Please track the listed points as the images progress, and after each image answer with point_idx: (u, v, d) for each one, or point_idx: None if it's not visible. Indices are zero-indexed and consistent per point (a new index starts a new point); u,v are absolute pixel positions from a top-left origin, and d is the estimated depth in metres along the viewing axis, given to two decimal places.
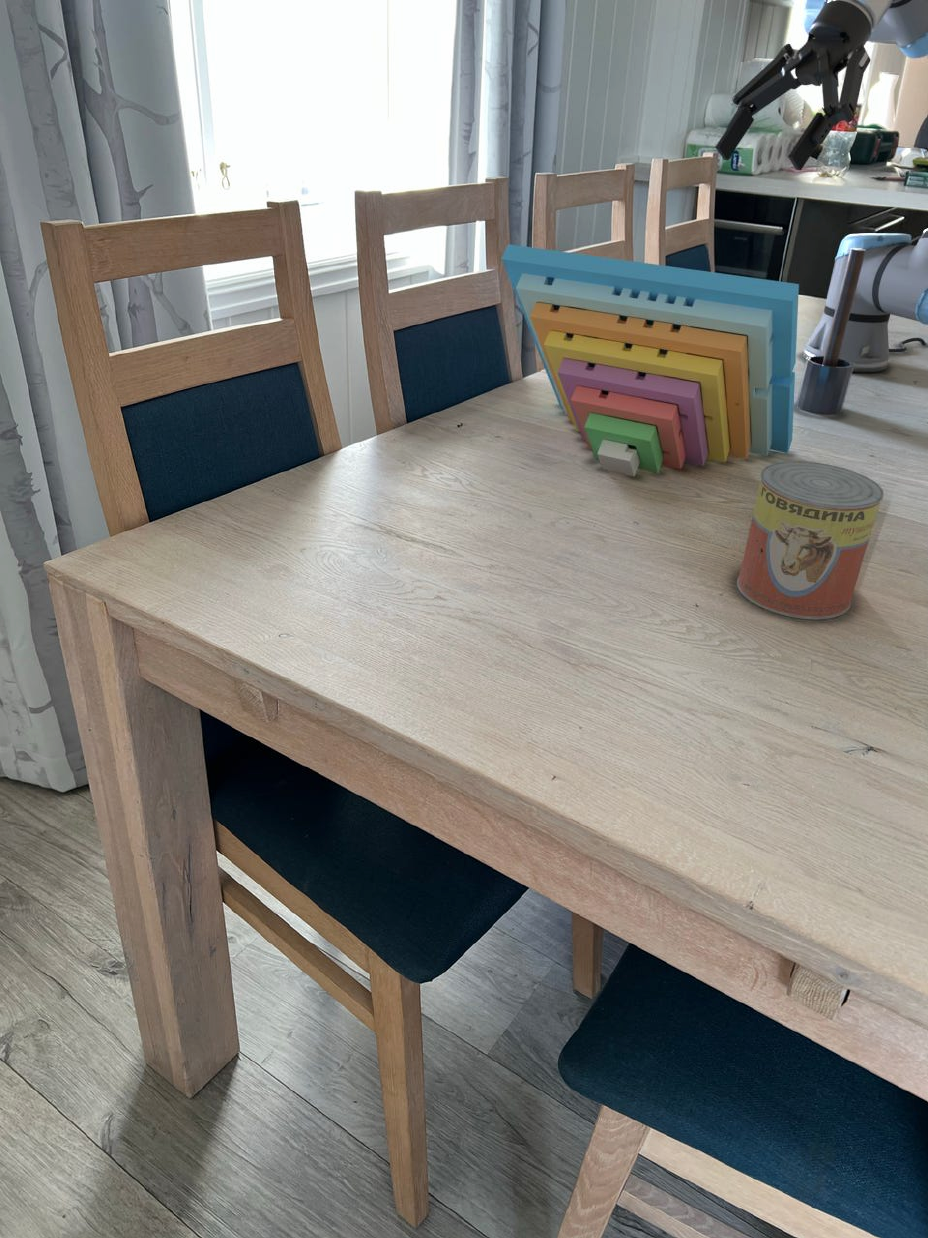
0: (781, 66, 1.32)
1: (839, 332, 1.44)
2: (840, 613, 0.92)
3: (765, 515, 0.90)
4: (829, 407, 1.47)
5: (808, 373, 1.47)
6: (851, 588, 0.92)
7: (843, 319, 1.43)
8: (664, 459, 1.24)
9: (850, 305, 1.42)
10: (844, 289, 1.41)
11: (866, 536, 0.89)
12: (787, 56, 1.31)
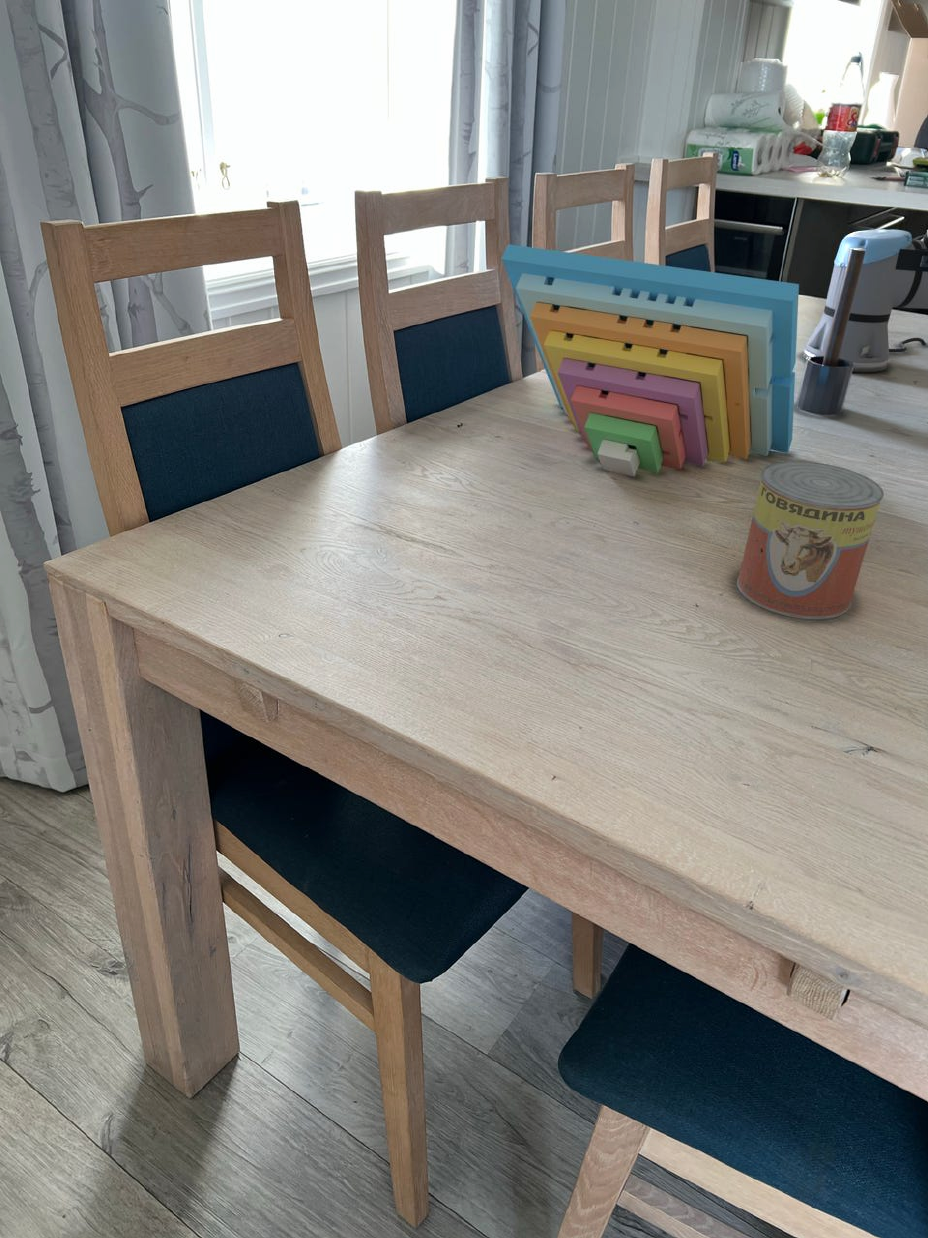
0: None
1: (839, 332, 1.44)
2: (840, 613, 0.92)
3: (765, 515, 0.90)
4: (829, 407, 1.47)
5: (808, 373, 1.47)
6: (851, 588, 0.92)
7: (843, 319, 1.43)
8: (664, 459, 1.24)
9: (850, 305, 1.42)
10: (844, 289, 1.41)
11: (866, 536, 0.89)
12: None
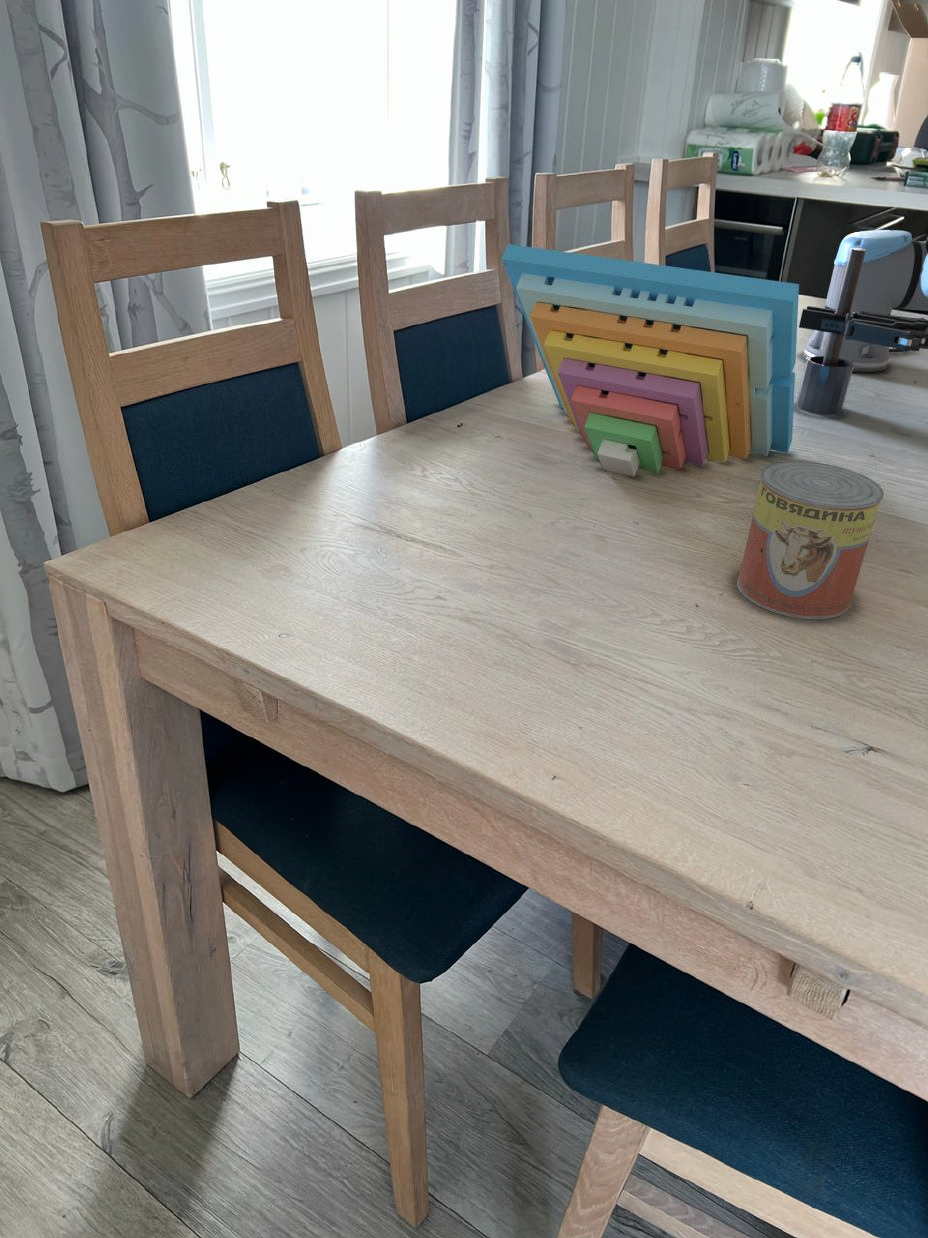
0: None
1: None
2: (840, 613, 0.92)
3: (765, 515, 0.90)
4: (829, 407, 1.47)
5: (808, 373, 1.47)
6: (851, 588, 0.92)
7: None
8: (664, 459, 1.24)
9: (850, 305, 1.42)
10: (844, 289, 1.41)
11: (866, 536, 0.89)
12: None
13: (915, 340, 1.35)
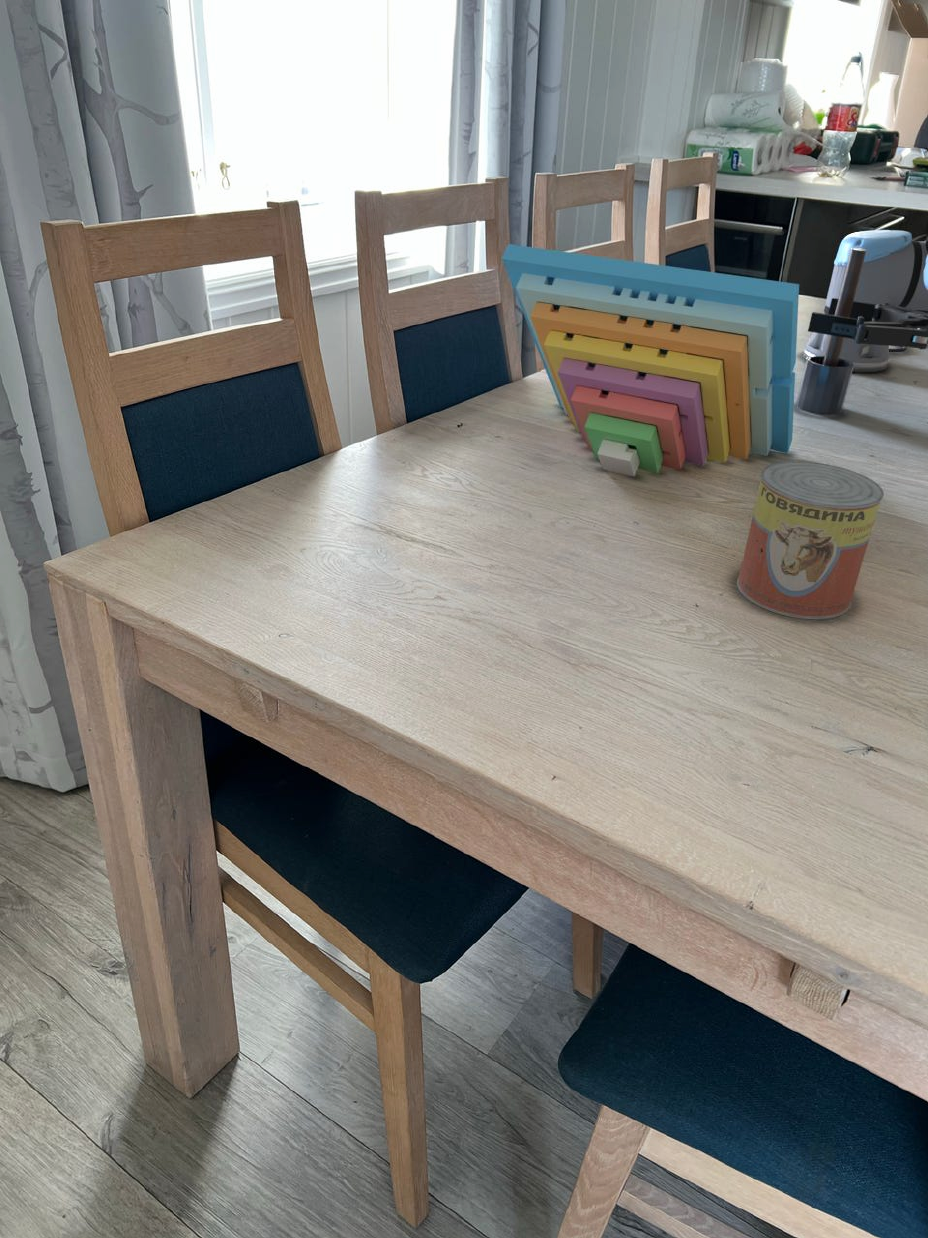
0: None
1: None
2: (840, 613, 0.92)
3: (765, 515, 0.90)
4: (829, 407, 1.47)
5: (808, 373, 1.47)
6: (851, 588, 0.92)
7: None
8: (664, 459, 1.24)
9: (850, 305, 1.42)
10: (845, 290, 1.41)
11: (866, 536, 0.89)
12: None
13: None
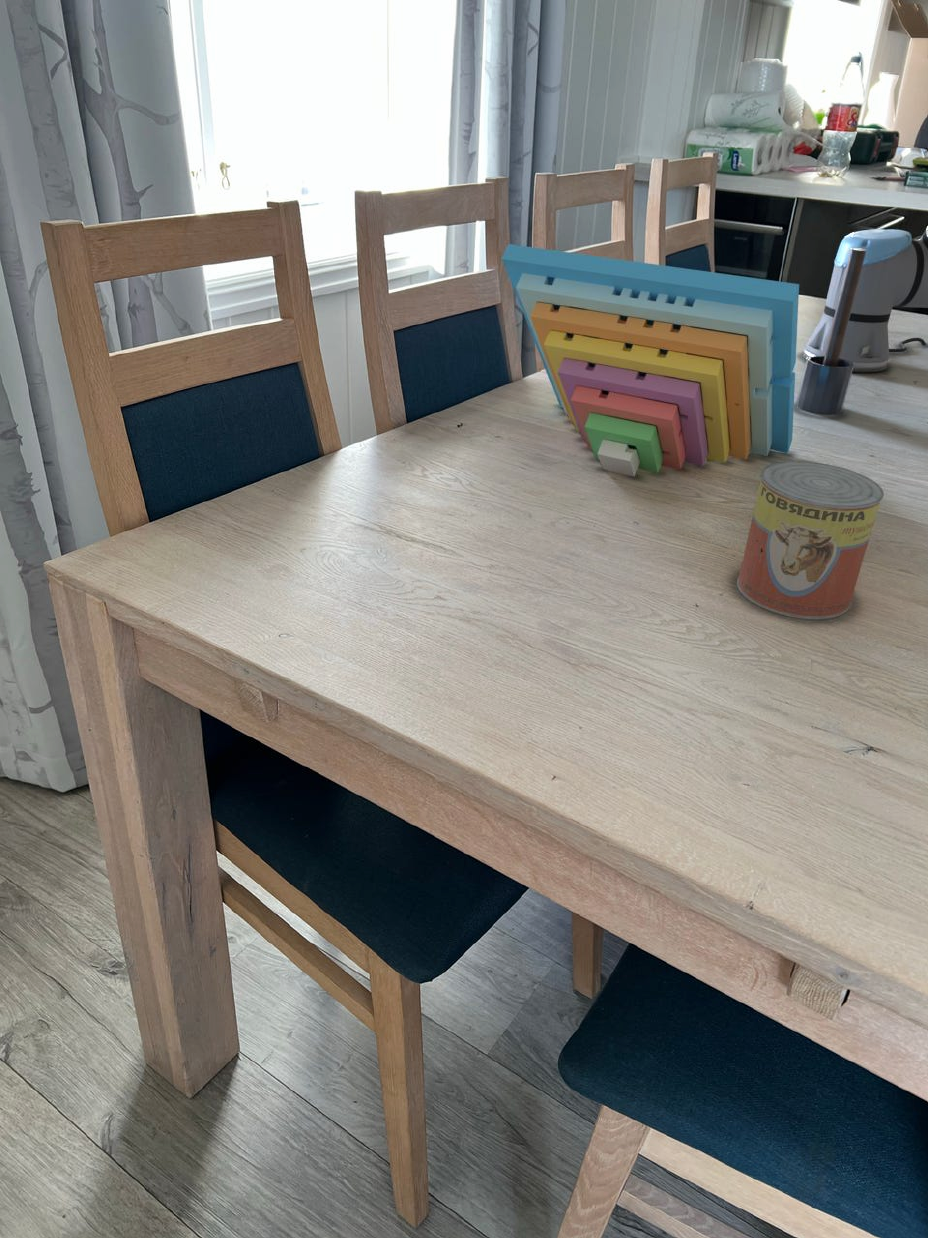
0: None
1: (839, 333, 1.44)
2: (840, 613, 0.92)
3: (765, 515, 0.90)
4: (829, 407, 1.47)
5: (808, 373, 1.47)
6: (851, 588, 0.92)
7: (843, 319, 1.43)
8: (664, 459, 1.24)
9: (850, 305, 1.42)
10: (845, 290, 1.41)
11: (866, 536, 0.89)
12: None
13: None
